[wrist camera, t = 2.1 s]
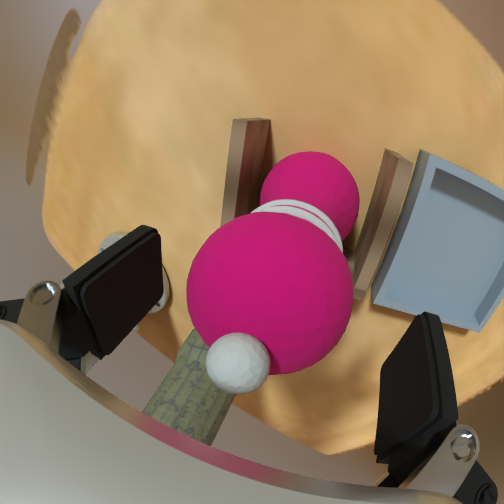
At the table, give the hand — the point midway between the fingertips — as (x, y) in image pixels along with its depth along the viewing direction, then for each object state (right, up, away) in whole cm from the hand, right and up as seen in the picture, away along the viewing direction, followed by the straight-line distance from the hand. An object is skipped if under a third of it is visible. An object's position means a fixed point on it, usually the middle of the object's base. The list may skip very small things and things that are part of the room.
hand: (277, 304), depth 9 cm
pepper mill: (+5, +8, +14) cm, 17 cm away
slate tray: (+19, +2, +12) cm, 22 cm away
